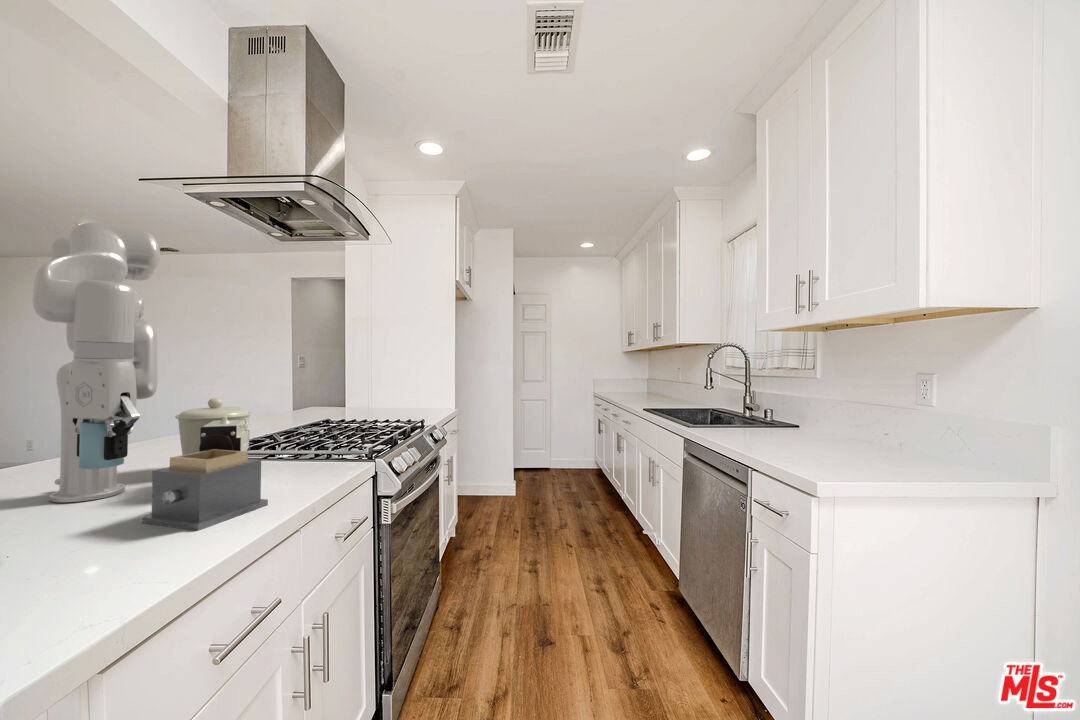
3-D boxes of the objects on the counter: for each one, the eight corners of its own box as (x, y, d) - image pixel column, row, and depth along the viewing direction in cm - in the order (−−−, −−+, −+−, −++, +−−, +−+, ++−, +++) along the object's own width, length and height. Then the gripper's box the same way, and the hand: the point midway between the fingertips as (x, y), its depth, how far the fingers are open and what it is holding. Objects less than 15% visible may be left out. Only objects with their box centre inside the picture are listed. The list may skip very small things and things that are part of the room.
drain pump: (70, 467, 76) (71, 416, 76) (117, 458, 83) (118, 411, 83) (94, 470, 75) (95, 418, 75) (140, 461, 82) (141, 413, 82)
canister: (156, 476, 123) (158, 399, 123) (213, 462, 141) (214, 395, 141) (215, 480, 121) (216, 401, 121) (265, 465, 139) (266, 396, 139)
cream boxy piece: (239, 492, 110) (240, 419, 110) (196, 496, 106) (198, 421, 106) (251, 475, 126) (252, 412, 126) (214, 478, 123) (215, 413, 123)
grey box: (138, 524, 88) (140, 460, 88) (218, 499, 104) (219, 445, 104) (194, 531, 85) (196, 465, 85) (267, 504, 101) (268, 449, 101)
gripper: (41, 351, 77) (39, 457, 77) (116, 354, 72) (113, 466, 73) (94, 351, 84) (92, 448, 84) (165, 354, 80) (162, 456, 80)
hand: (102, 455), depth 78 cm, fingers closed on drain pump, 5 cm apart
